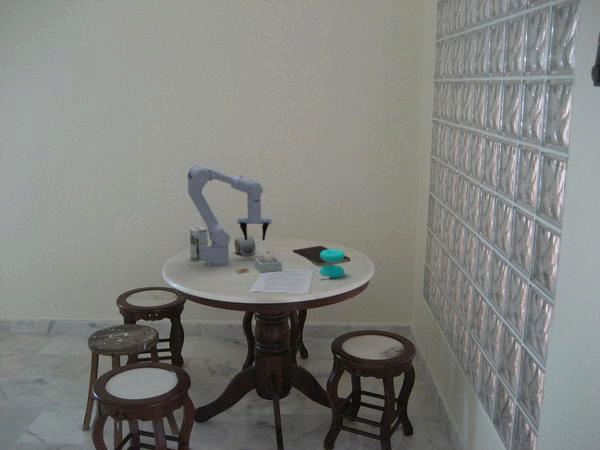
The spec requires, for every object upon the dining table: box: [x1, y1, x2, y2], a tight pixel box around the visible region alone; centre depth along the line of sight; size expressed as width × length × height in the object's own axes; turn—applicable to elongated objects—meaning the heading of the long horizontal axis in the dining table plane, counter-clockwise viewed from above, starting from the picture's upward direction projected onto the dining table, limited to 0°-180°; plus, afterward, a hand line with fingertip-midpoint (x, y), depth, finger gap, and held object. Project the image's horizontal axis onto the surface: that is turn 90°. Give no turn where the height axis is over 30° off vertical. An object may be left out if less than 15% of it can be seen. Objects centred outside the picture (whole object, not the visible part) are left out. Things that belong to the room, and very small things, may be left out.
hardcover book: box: [292, 245, 351, 267], centre depth 295 cm, size 16×23×2 cm
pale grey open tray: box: [254, 256, 283, 273], centre depth 275 cm, size 9×9×4 cm
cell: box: [263, 250, 274, 263], centre depth 274 cm, size 4×4×7 cm
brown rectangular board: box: [234, 268, 251, 275], centre depth 274 cm, size 20×13×1 cm, turn 109°
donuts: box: [319, 248, 346, 279], centre depth 269 cm, size 10×10×10 cm
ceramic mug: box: [234, 235, 256, 257], centre depth 301 cm, size 11×8×8 cm
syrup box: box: [189, 226, 209, 263], centre depth 290 cm, size 6×6×14 cm
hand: (254, 239), depth 289 cm, fingers open, 7 cm apart
